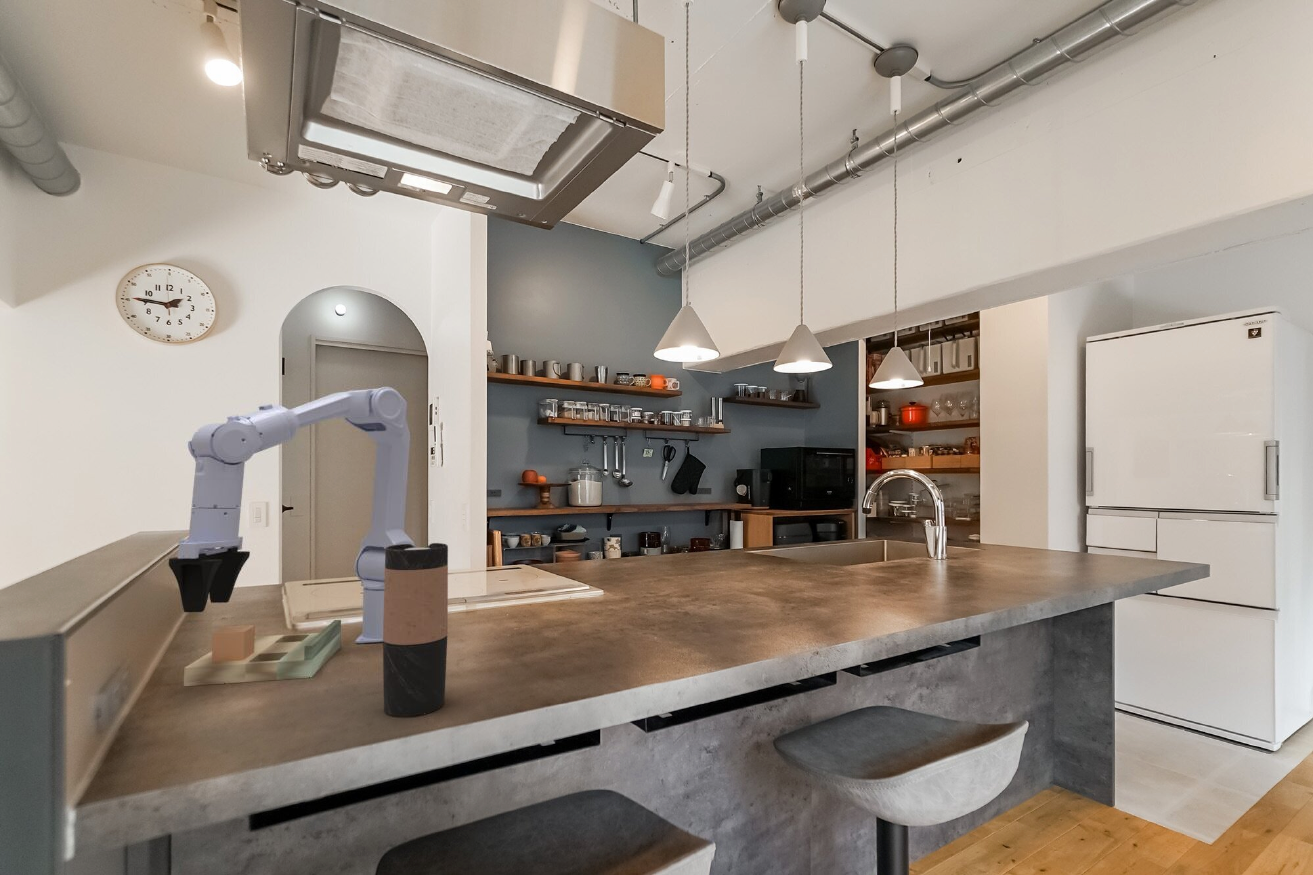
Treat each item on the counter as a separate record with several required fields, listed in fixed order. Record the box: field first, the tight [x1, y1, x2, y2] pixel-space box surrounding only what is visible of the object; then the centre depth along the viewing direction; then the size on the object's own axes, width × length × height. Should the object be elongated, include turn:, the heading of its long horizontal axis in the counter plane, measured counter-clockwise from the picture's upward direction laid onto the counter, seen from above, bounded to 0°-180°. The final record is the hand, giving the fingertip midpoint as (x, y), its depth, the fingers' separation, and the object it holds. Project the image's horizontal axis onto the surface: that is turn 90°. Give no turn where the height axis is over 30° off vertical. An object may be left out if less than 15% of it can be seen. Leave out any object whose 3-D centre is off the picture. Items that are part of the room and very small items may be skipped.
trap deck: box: [183, 619, 342, 687], centre depth 97 cm, size 16×16×4 cm
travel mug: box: [382, 542, 449, 718], centre depth 80 cm, size 8×8×20 cm
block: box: [211, 624, 256, 662], centre depth 92 cm, size 4×4×4 cm
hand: (207, 606), depth 88 cm, fingers open, 7 cm apart
